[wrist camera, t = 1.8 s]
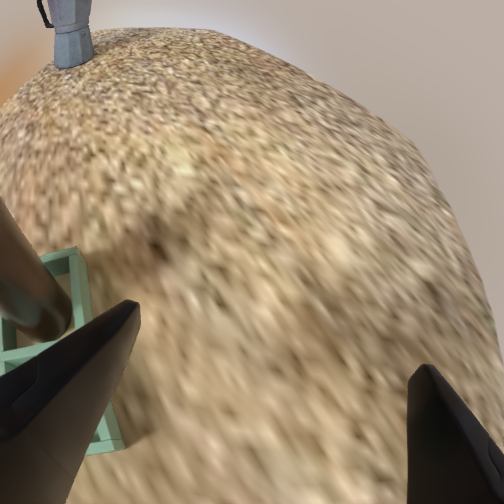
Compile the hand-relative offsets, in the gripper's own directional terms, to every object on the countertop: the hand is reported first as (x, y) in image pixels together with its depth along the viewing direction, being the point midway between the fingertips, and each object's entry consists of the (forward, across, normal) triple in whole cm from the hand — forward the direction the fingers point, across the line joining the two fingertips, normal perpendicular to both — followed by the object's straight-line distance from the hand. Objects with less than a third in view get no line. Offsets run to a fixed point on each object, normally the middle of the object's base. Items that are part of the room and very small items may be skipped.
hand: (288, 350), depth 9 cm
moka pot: (+50, +47, -6) cm, 69 cm away
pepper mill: (+8, +17, +12) cm, 22 cm away
